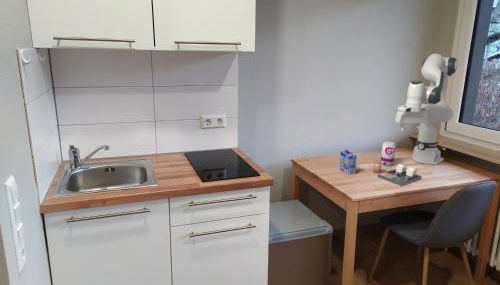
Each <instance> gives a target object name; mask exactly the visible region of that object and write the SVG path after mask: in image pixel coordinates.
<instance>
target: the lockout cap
mask: <svg viewBox="0 0 500 285" xmlns="http://www.w3.org/2000/svg"><path fill="white" fill-rule="evenodd" d="M382 166H383V165H382V163H380V161H379V160H376V161H374V162H373V168H372V173H374V174H380V173H382Z"/></svg>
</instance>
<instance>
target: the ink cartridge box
mask: <svg viewBox="0 0 500 285" xmlns="http://www.w3.org/2000/svg"><path fill="white" fill-rule="evenodd" d="M356 165H357V155H356V154H355V153H352V152H351V151H349V150H348V149H346V148H345V149H344V151H343V150H342V151H340V155H339V169H338V170H339V171H341V172H342V173H345V174H346V175H348V176H349V175H355V174H356V167H357V166H356Z"/></svg>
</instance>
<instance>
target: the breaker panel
mask: <svg viewBox="0 0 500 285" xmlns="http://www.w3.org/2000/svg"><path fill="white" fill-rule="evenodd" d="M406 171H407V170H406ZM406 171H405V172H402V173H399V172H396V168H395V169H391V170H388V171H387V170H386V171H384V172H381V173H377V178H379V179H381V180H385V181H387V182H390V183H393V184H395V185H398V186H405V185H408V184H411V183H414V182H418V181H421V180H422V175H419V174H416V175H414V176H408V175H406Z"/></svg>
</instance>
